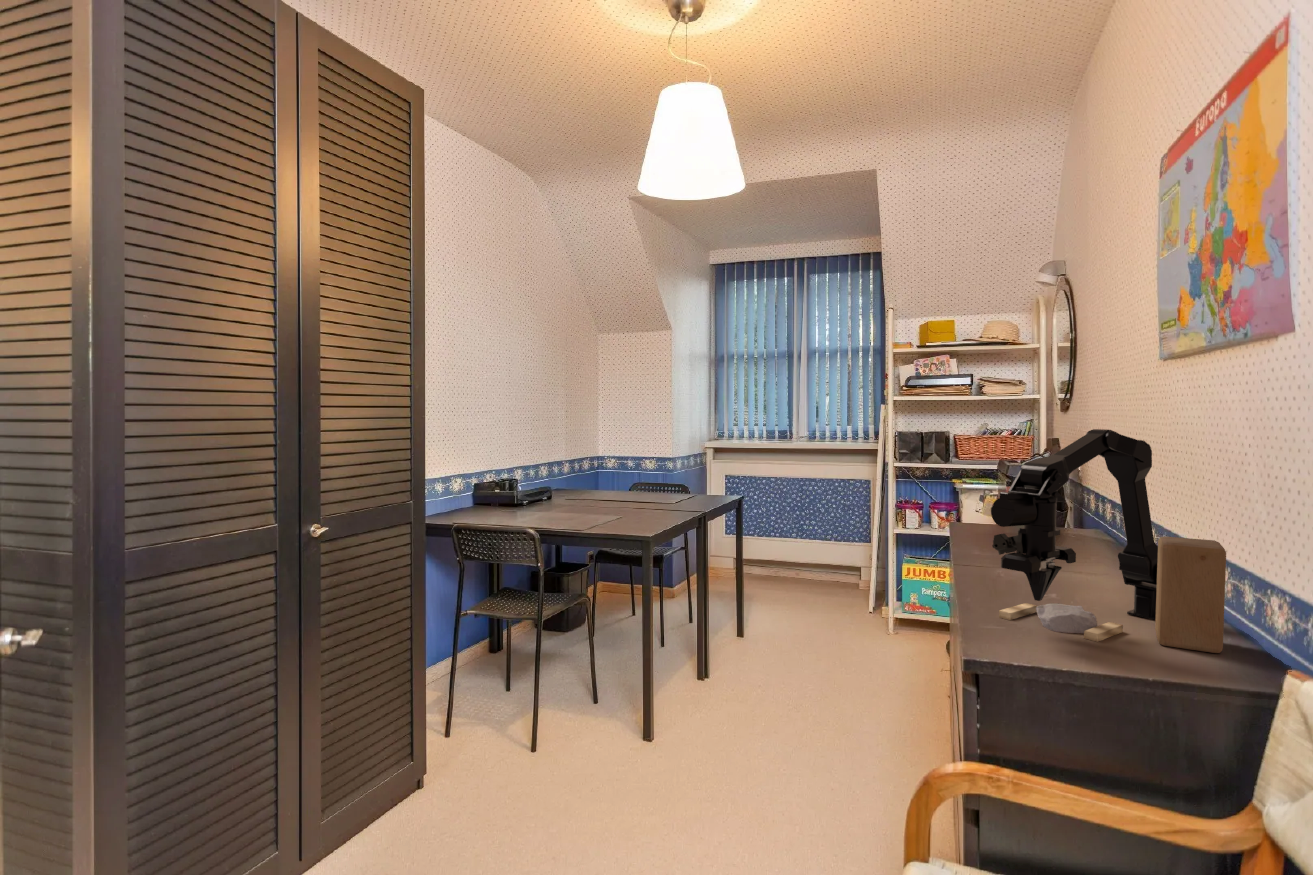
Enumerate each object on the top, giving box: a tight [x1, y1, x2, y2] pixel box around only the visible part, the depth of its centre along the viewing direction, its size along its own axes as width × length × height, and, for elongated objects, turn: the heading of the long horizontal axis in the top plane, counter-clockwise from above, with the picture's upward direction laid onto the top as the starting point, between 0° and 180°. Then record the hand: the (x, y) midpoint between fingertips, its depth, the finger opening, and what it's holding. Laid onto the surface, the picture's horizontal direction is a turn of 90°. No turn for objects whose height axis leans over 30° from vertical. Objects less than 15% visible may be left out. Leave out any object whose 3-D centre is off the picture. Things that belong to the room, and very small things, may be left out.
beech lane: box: [998, 602, 1124, 643], centre depth 153 cm, size 11×20×2 cm, turn 35°
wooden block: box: [1154, 535, 1227, 654], centre depth 140 cm, size 10×10×20 cm
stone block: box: [1036, 603, 1098, 634], centre depth 153 cm, size 12×5×10 cm
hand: (1038, 600), depth 148 cm, fingers closed
